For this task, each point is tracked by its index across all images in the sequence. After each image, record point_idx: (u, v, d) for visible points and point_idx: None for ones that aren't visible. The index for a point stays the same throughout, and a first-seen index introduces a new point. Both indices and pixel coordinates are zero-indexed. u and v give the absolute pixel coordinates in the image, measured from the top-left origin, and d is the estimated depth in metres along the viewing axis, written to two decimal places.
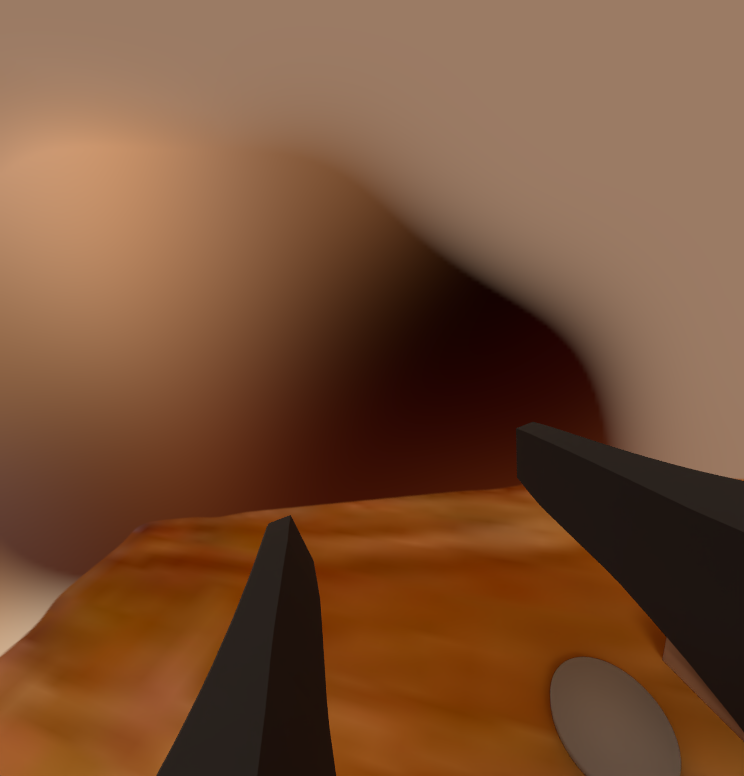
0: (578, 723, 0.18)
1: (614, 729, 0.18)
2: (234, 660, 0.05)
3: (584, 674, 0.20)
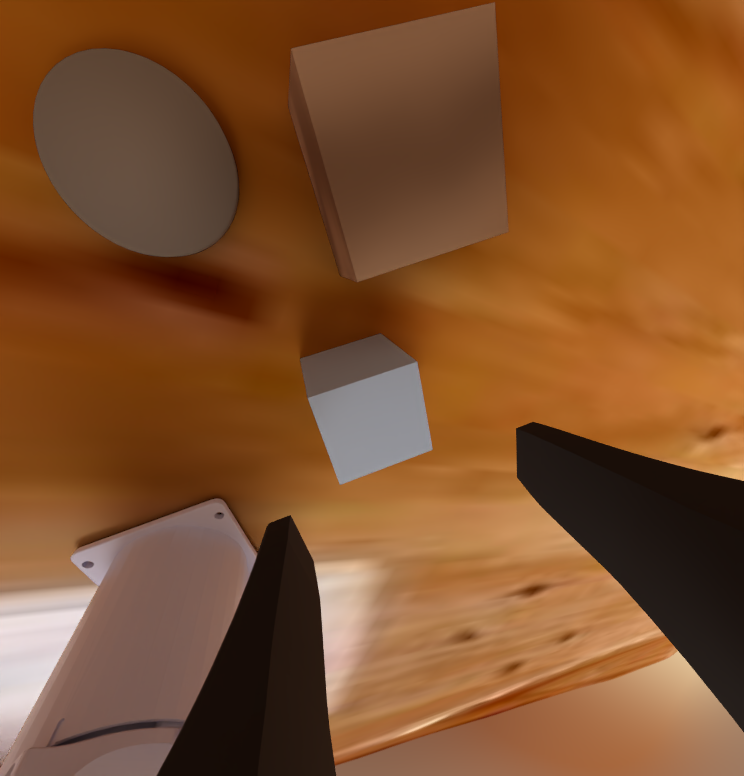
0: (85, 162, 0.10)
1: (147, 180, 0.11)
2: (234, 660, 0.05)
3: (122, 88, 0.10)
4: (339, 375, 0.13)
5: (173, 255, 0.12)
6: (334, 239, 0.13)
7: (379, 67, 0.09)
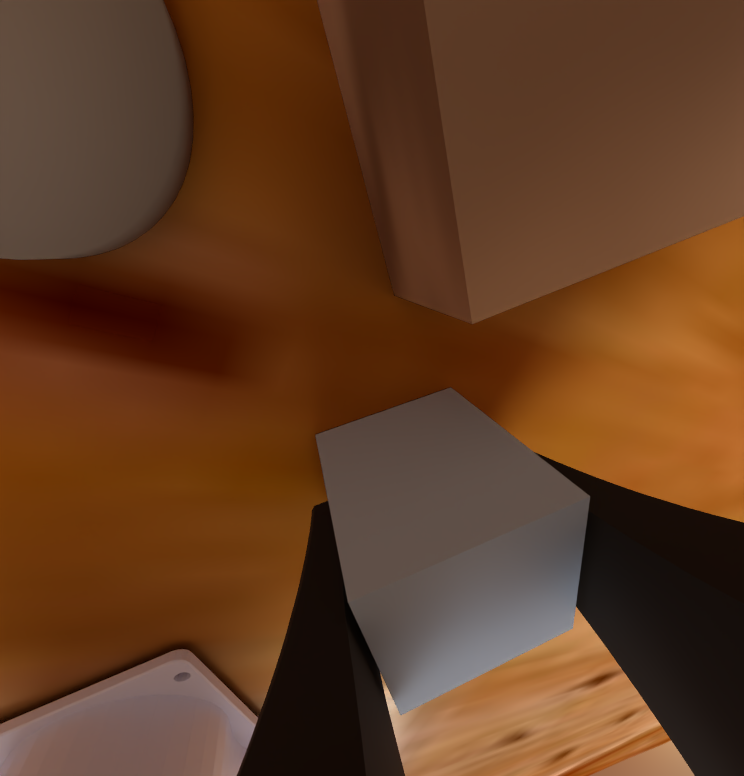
0: None
1: None
2: (309, 627, 0.05)
3: None
4: (408, 513, 0.06)
5: (42, 256, 0.05)
6: (398, 226, 0.06)
7: None
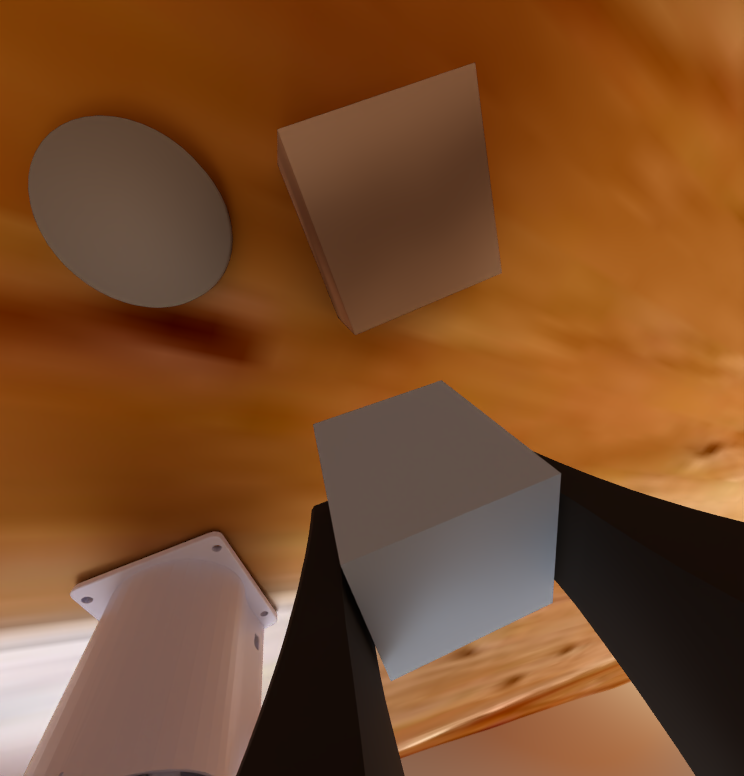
0: (79, 221, 0.11)
1: (141, 236, 0.11)
2: (308, 627, 0.05)
3: (115, 151, 0.10)
4: (397, 490, 0.07)
5: (168, 305, 0.12)
6: (330, 289, 0.13)
7: (364, 136, 0.09)
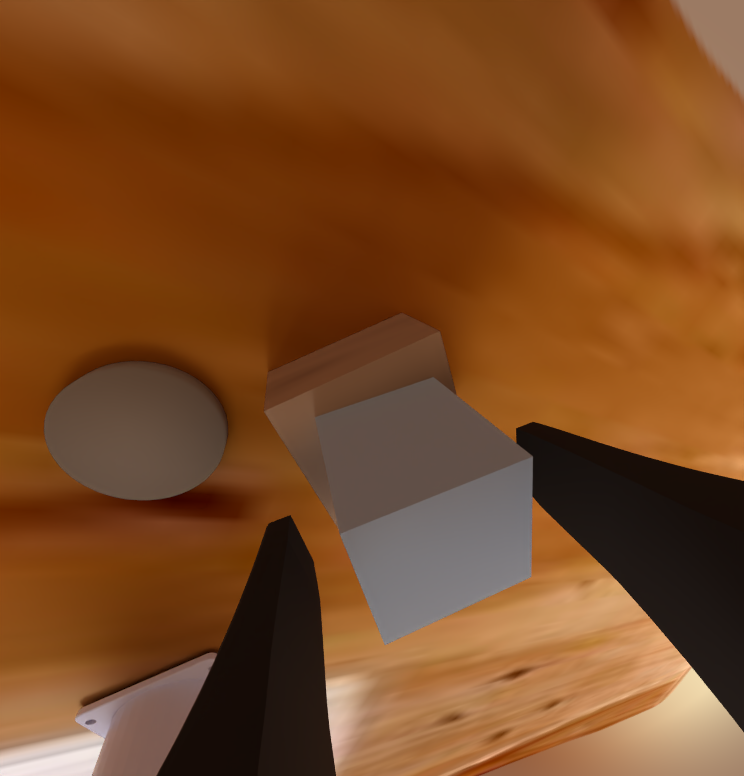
0: (89, 447, 0.12)
1: (144, 450, 0.12)
2: (234, 661, 0.05)
3: (122, 393, 0.11)
4: (390, 473, 0.07)
5: (168, 496, 0.13)
6: None
7: (342, 399, 0.11)
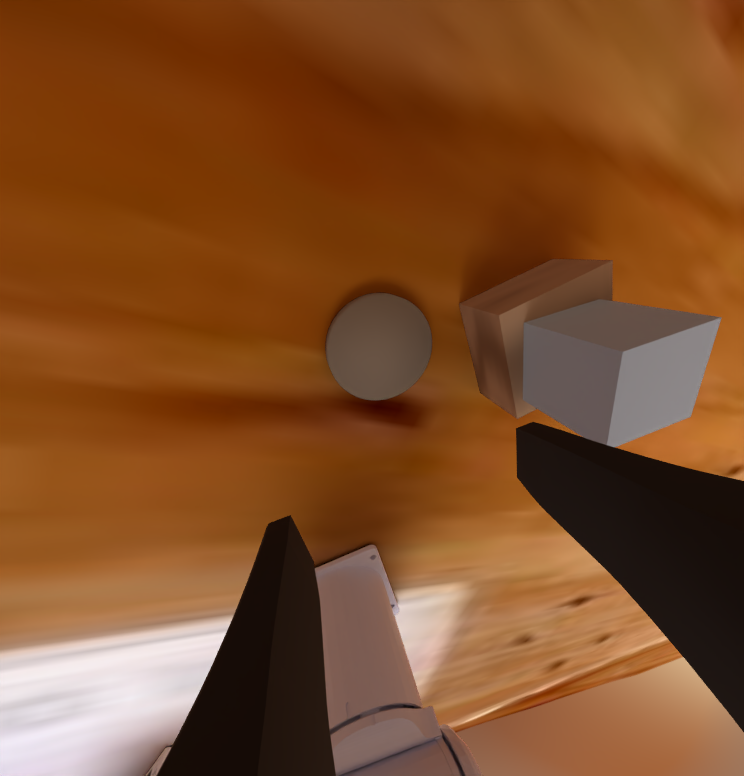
0: (350, 354, 0.17)
1: (381, 359, 0.17)
2: (234, 660, 0.05)
3: (380, 313, 0.16)
4: (625, 332, 0.12)
5: (385, 398, 0.18)
6: (489, 381, 0.19)
7: (544, 309, 0.15)
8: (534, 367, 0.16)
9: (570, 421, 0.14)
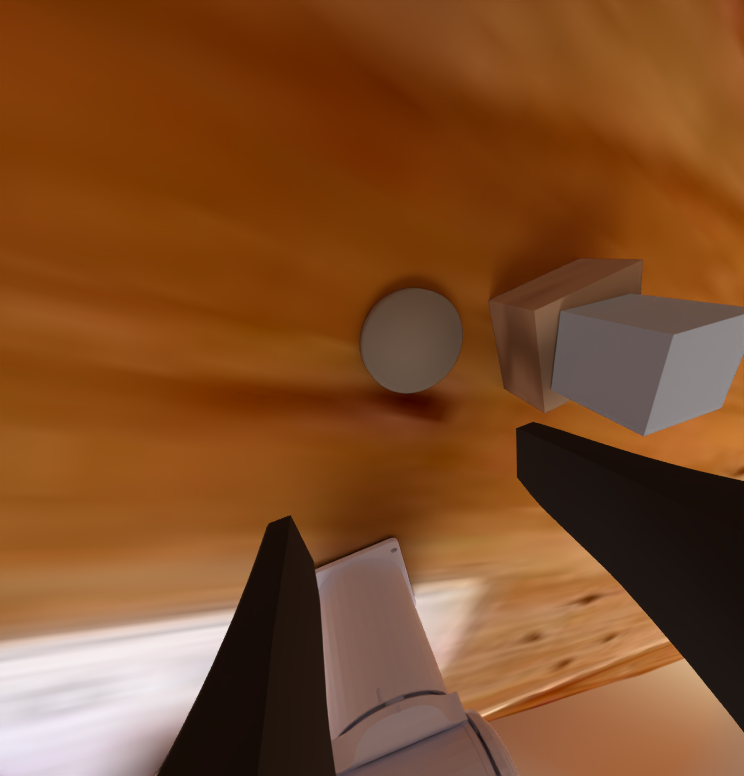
0: (385, 347, 0.17)
1: (413, 352, 0.18)
2: (233, 661, 0.05)
3: (415, 307, 0.17)
4: (669, 320, 0.12)
5: (415, 391, 0.19)
6: (515, 377, 0.19)
7: (576, 306, 0.16)
8: (568, 356, 0.16)
9: (605, 408, 0.15)
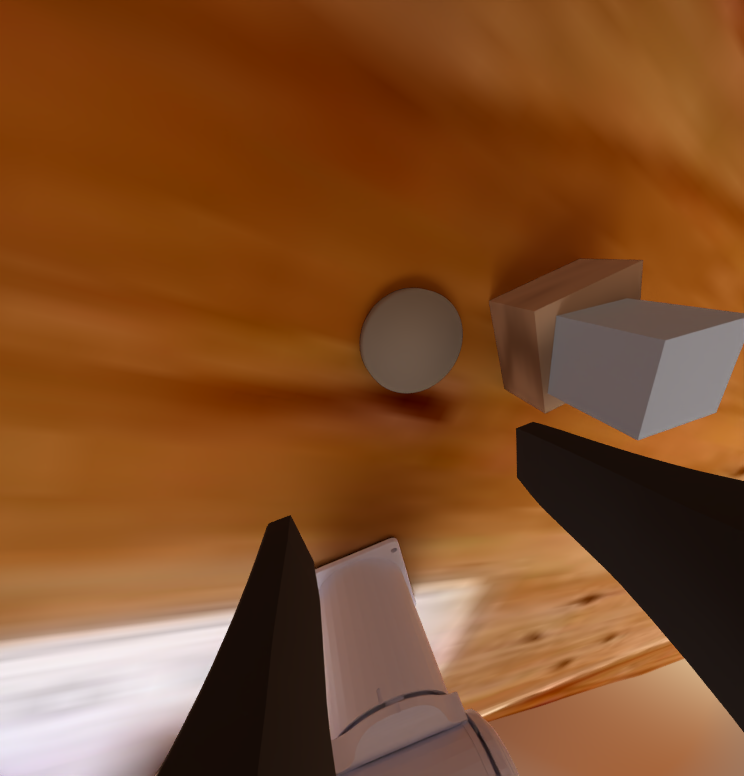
0: (385, 347, 0.17)
1: (413, 352, 0.18)
2: (233, 661, 0.05)
3: (415, 307, 0.17)
4: (662, 325, 0.13)
5: (415, 391, 0.19)
6: (516, 377, 0.19)
7: (576, 306, 0.16)
8: (564, 360, 0.16)
9: (600, 412, 0.15)
